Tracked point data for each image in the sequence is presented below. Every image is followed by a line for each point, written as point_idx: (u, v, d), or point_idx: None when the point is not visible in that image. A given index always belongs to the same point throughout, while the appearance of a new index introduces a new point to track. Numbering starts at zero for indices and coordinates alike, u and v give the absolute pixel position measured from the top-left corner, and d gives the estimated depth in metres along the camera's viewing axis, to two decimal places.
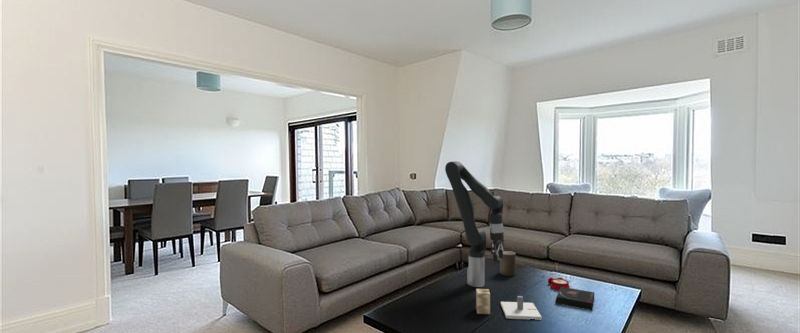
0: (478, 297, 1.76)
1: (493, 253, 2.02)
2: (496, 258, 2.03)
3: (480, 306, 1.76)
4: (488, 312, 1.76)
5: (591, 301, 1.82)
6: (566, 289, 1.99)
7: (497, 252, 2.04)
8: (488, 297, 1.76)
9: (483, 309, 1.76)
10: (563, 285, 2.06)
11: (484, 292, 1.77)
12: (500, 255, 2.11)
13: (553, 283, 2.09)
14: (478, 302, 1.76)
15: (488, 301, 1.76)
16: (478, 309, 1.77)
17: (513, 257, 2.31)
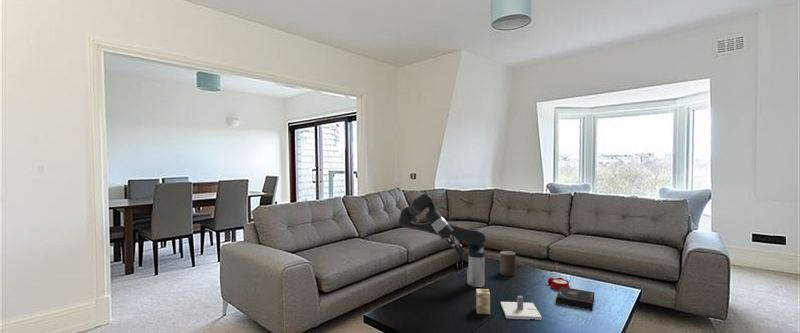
0: (478, 297, 1.76)
1: (455, 246, 1.76)
2: (460, 251, 1.77)
3: (480, 306, 1.76)
4: (488, 312, 1.76)
5: (591, 301, 1.82)
6: (566, 289, 1.99)
7: (457, 245, 1.79)
8: (488, 297, 1.76)
9: (483, 309, 1.76)
10: (563, 285, 2.06)
11: (484, 292, 1.77)
12: (461, 250, 1.86)
13: (553, 283, 2.09)
14: (478, 302, 1.76)
15: (488, 301, 1.76)
16: (478, 309, 1.77)
17: (513, 257, 2.31)
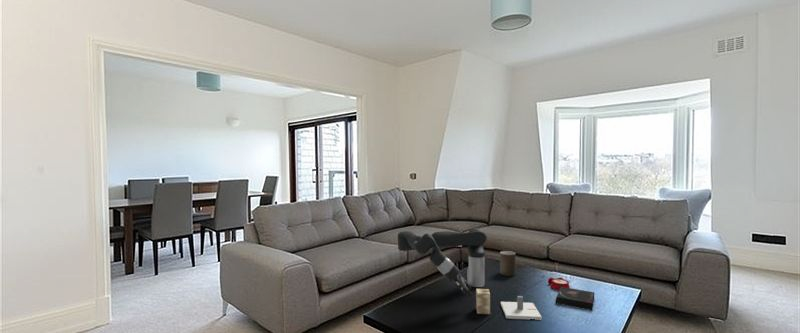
0: (478, 297, 1.76)
1: (464, 290, 1.72)
2: (470, 292, 1.74)
3: (480, 306, 1.76)
4: (488, 312, 1.76)
5: (591, 301, 1.82)
6: (566, 289, 1.99)
7: (466, 286, 1.75)
8: (488, 297, 1.76)
9: (483, 309, 1.76)
10: (563, 285, 2.06)
11: (484, 292, 1.77)
12: (468, 287, 1.83)
13: (553, 283, 2.09)
14: (478, 302, 1.76)
15: (488, 301, 1.76)
16: (478, 309, 1.77)
17: (513, 257, 2.31)
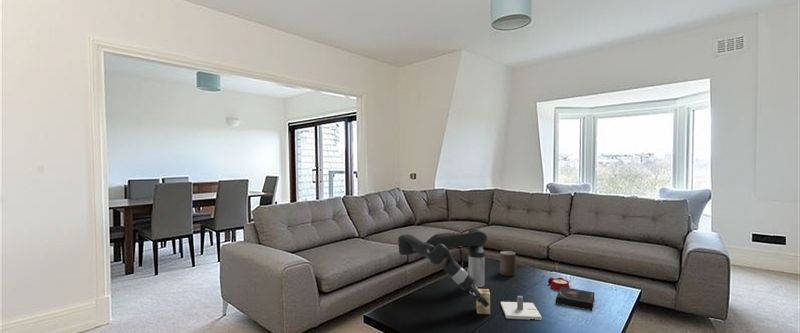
0: (478, 297, 1.76)
1: (480, 299, 1.73)
2: (486, 302, 1.75)
3: (480, 306, 1.76)
4: (488, 312, 1.76)
5: (591, 301, 1.82)
6: (566, 289, 1.99)
7: None
8: (488, 297, 1.76)
9: (483, 309, 1.76)
10: (563, 285, 2.06)
11: (484, 292, 1.77)
12: None
13: (553, 283, 2.09)
14: (478, 302, 1.76)
15: (488, 301, 1.76)
16: (478, 309, 1.77)
17: (513, 257, 2.31)
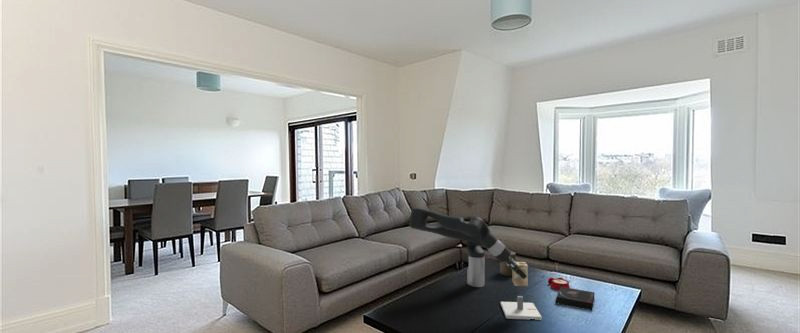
0: (516, 269, 1.75)
1: (519, 271, 1.72)
2: (523, 274, 1.74)
3: (518, 278, 1.75)
4: (526, 284, 1.75)
5: (591, 301, 1.82)
6: (566, 289, 1.99)
7: None
8: (526, 269, 1.75)
9: (520, 281, 1.75)
10: (563, 285, 2.06)
11: (521, 264, 1.76)
12: None
13: (553, 283, 2.09)
14: (516, 274, 1.75)
15: (526, 273, 1.75)
16: (515, 281, 1.75)
17: (513, 257, 2.31)
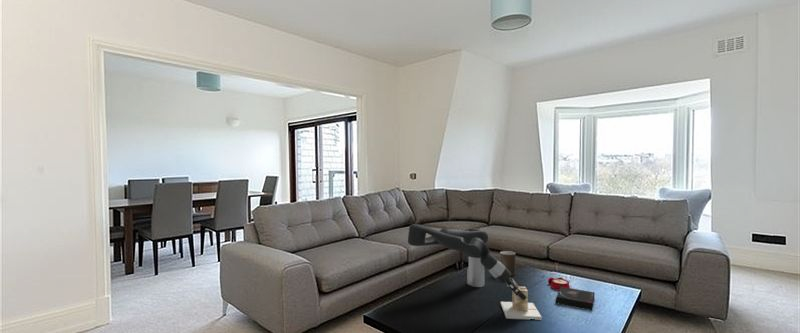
0: None
1: (518, 293, 1.71)
2: (523, 295, 1.74)
3: (518, 303, 1.76)
4: (526, 309, 1.75)
5: (591, 301, 1.82)
6: (566, 288, 1.99)
7: None
8: (526, 294, 1.75)
9: (520, 307, 1.76)
10: (563, 285, 2.06)
11: (521, 289, 1.77)
12: None
13: (553, 283, 2.09)
14: (516, 299, 1.76)
15: (526, 298, 1.75)
16: (516, 306, 1.76)
17: (513, 257, 2.31)
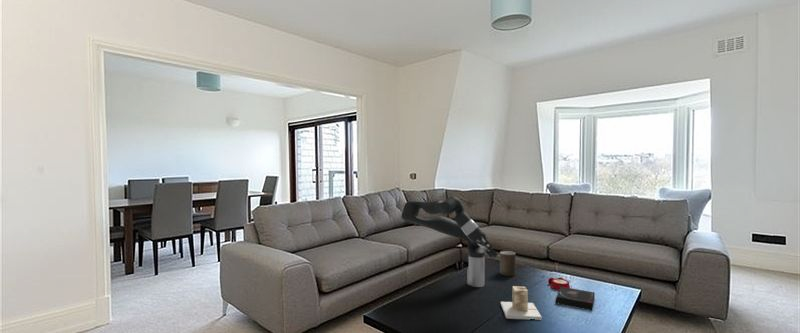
0: (516, 294, 1.76)
1: (490, 247, 1.74)
2: (494, 252, 1.75)
3: (518, 303, 1.76)
4: (526, 309, 1.75)
5: (591, 301, 1.82)
6: (566, 288, 1.99)
7: (490, 246, 1.77)
8: (526, 294, 1.75)
9: (520, 307, 1.76)
10: (563, 285, 2.06)
11: (521, 289, 1.77)
12: (490, 254, 1.83)
13: (553, 283, 2.09)
14: (516, 299, 1.76)
15: (526, 298, 1.75)
16: (516, 306, 1.76)
17: (513, 257, 2.31)
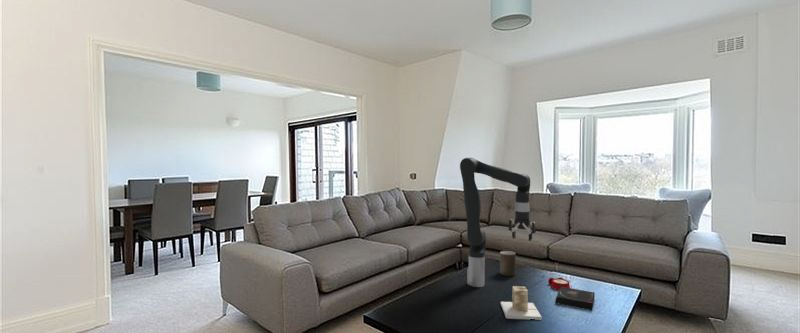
0: (516, 294, 1.76)
1: (535, 231, 1.97)
2: None
3: (518, 303, 1.76)
4: (526, 309, 1.75)
5: (591, 301, 1.82)
6: (566, 288, 1.99)
7: None
8: (526, 294, 1.75)
9: (520, 307, 1.76)
10: (564, 285, 2.06)
11: (521, 289, 1.77)
12: (514, 236, 2.03)
13: (554, 283, 2.09)
14: (516, 299, 1.76)
15: (526, 298, 1.75)
16: (516, 306, 1.76)
17: (513, 257, 2.31)
